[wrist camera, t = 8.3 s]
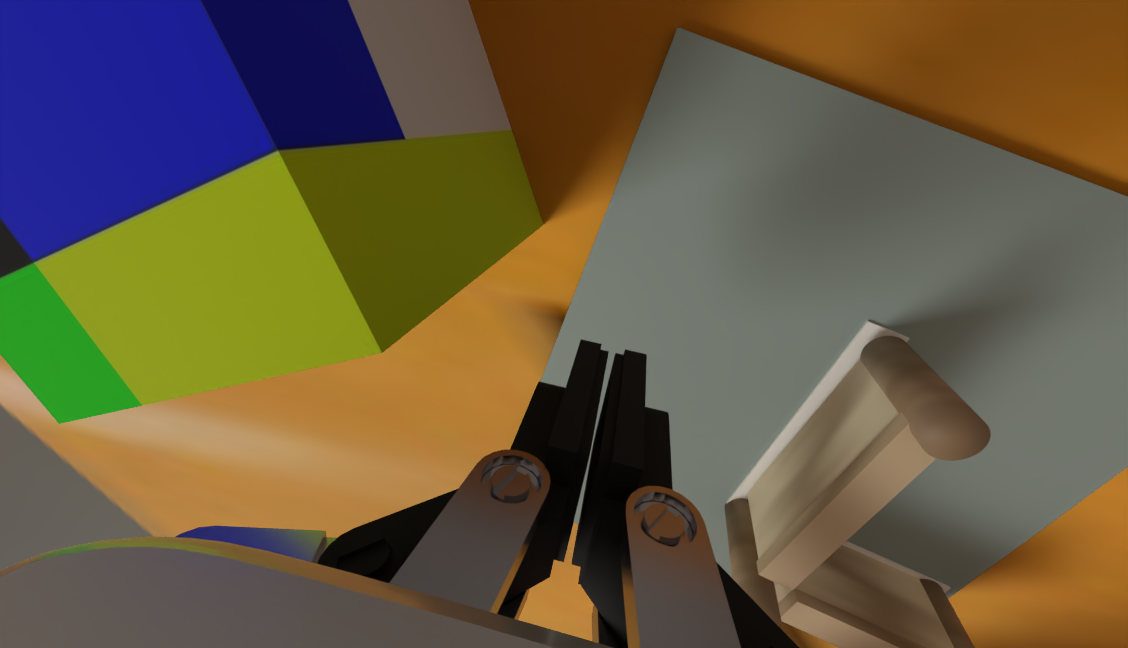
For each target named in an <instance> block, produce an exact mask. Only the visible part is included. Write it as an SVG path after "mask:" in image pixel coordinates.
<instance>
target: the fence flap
mask: <svg viewBox="0 0 1128 648" xmlns="http://www.w3.org/2000/svg"><path fill="white" fill-rule="evenodd" d="M990 437H991V432H990V428H989V426H988V425H987V424H986V423H985V422H984V421H983V420H982V419H981V418H980V417H979V415H978V414H977V413H976V412H975V411H974V410H973V409H972V408H971V407H970V406H969V405H968V404H967V403H966V402H965V401H964V400H963V399H962V398H961V397H960V396H959V395H958V394H957V393H956V392H955V391H954V390H953V389H952V388H951V387H950V386H949V385H948V384H947V383H946V382H945V381H944V380H943V379H942V378H941V377H940V376H939V375H938V374H937V373H936V372H935V371H934V370H933V369H932V368H931V367H930V366H929V365H928V364H927V363H926V362H925V361H924V360H923V359H922V358H921V357H920V356H919V355H918V354H917V353H916V352H915V351H914V350H913V349H912V348H911V347H910V346H909V344H908V343H907V342H905V341H904V340H903V339H901V338H899V337H895V336H883V337H879V338H876V339H874V340H872V341H870V342H869V343H868V344H866V345H865V347H864V348H863V350H862V352H861V355H860V359H859V360H858V362H857V363H856V364H855V365H854V366H853V368H852V369H851V370H850V371H849V372H848V374H847V375H846V376H845V377H844V378H843V379H842V381H841V382H840V383H839V384H838V385H837V387H836V388H835V389H834V390H833V391H832V393H831V394H830V395H829V396H828V397H827V399H826V400H825V401H824V402H823V403H822V405H821V406H820V407H819V408H818V409H817V410H816V412H815V413H814V414H813V415H812V416H811V418H810V419H809V420H808V421H807V422H806V424H805V425H804V426H803V427H802V428H801V430H800V431H799V432H798V433H797V434H796V436H795V437H794V438H793V439H792V440H791V441H790V443H789V444H788V445H787V446H786V447H785V449H784V450H783V451H782V452H781V453H780V455H779V456H778V457H777V458H776V459H775V461H774V462H773V463H772V464H771V465H770V467H769V468H768V469H767V470H766V471H765V472H764V474H763V475H762V476H761V477H760V478H759V480H758V481H757V482H756V483H755V484H754V486H753V487H752V488H751V489H750V490H749V492H748V493H747V495H748V501H749V507H750V513H751V519H752V524H753V530H754V536H755V542H756V548H757V554H758V560H757V561H756V562H757V568H758V574H759V575H760V576H762V577H764V578H767V579H769V580H771V581H773V582H775V583H777V584H779V585H782V586H784V587H786V588H788V589H790V590H793V589H795V588H796V587H797V586H798V585H799V584H800V583H801V582H802V581H803V580H804V579H805V578H807V577H808V576H809V575H810V574H811V573H812V572H813V571H814V570H815V569H816V568H817V567H819V566H820V565H821V564H822V563H823V562H824V561H825V560H826V559H827V558H828V557H829V556H831V555H832V554H833V553H834V552H835V551H836V550H837V549H838V548H839V547H840V546H841V545H843V544H844V543H845V542H846V541H847V540H848V539H849V538H850V537H851V536H852V535H853V534H855V533H856V532H857V531H858V530H859V529H860V528H861V527H862V526H863V525H864V524H865V523H867V522H868V521H869V520H870V519H871V518H872V517H873V516H874V515H875V514H876V513H877V512H879V511H880V510H881V509H882V508H883V507H884V506H885V505H886V504H887V503H888V502H889V501H891V500H892V499H893V498H894V497H895V496H896V495H897V494H898V493H899V492H900V491H901V490H903V489H904V488H905V487H906V486H907V485H908V484H909V483H910V482H911V481H912V480H913V479H915V478H916V477H917V476H918V475H919V474H920V473H921V472H922V471H923V470H924V469H925V468H927V467H928V466H929V465H930V464H931V463H932V462H933V461H934V460H935V459H936V458H937V459H940V460H946V461H956V460H963V459H966V458H969V457H972V456H974V455H976V454H978V453H979V452H981V451H982V450H983V449H984V448H985V447H986V446H987V444H988V443H989V440H990Z"/></svg>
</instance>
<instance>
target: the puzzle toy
mask: <svg viewBox="0 0 1128 648" xmlns="http://www.w3.org/2000/svg"><path fill="white" fill-rule="evenodd" d="M543 225H544V224H543V221H542V218H541V215H540V212H539V209H538V206H537V203H536V201H535V198H534V195H533V192H532V189H531V186H530V183H529V180H528V177H527V174H526V171H525V168H524V165H523V162H522V159H521V156H520V153H519V150H518V147H517V144H516V141H515V138H514V135H513V132H512V129H511V126H510V123H509V120H508V117H507V114H506V111H505V108H504V105H503V102H502V99H501V96H500V93H499V90H498V88H497V85H496V82H495V79H494V76H493V73H492V70H491V67H490V64H489V61H488V58H487V55H486V52H485V49H484V46H483V43H482V40H481V37H480V34H479V31H478V28H477V25H476V22H475V19H474V16H473V13H472V10H471V7H470V4H469V1H468V0H0V354H1V356H2V357H3V358H4V359H5V360H6V362H7V363H8V364H9V365H10V366H11V367H12V369H13V370H14V371H15V372H16V373H17V375H18V376H19V377H20V378H21V379H22V380H23V382H24V383H25V384H26V385H27V386H28V388H29V389H30V390H31V391H32V392H33V393H34V395H35V396H36V397H37V398H38V399H39V401H40V402H41V403H42V404H43V405H44V406H45V408H46V409H47V410H48V411H49V412H50V414H51V415H52V416H53V417H54V418H55V419H56V421H57V422H58V423H59V424H60V423H64V422H69V421H74V420H78V419H83V418H87V417H92V416H96V415H101V414H105V413H110V412H115V411H119V410H124V409H128V408H133V407H137V406H142V405H146V404H151V403H156V402H160V401H165V400H169V399H174V398H178V397H183V396H187V395H192V394H197V393H201V392H206V391H210V390H215V389H219V388H224V387H228V386H233V385H237V384H242V383H247V382H251V381H256V380H260V379H265V378H269V377H274V376H278V375H283V374H288V373H292V372H297V371H301V370H306V369H310V368H315V367H319V366H324V365H329V364H333V363H338V362H342V361H347V360H351V359H356V358H360V357H365V356H370V355H374V354H379V353H382V352H384V351H385V350H386V349H387V348H389V347H390V346H391V345H392V344H394V343H395V342H396V341H397V340H399V339H400V338H401V337H403V336H404V335H405V334H406V333H408V332H409V331H410V330H411V329H413V328H414V327H415V326H416V325H418V324H419V323H420V322H421V321H423V320H424V319H425V318H426V317H428V316H429V315H430V314H432V313H433V312H434V311H435V310H437V309H438V308H439V307H440V306H442V305H443V304H444V303H445V302H447V301H448V300H449V299H450V298H452V297H453V296H454V295H456V294H457V293H458V292H459V291H461V290H462V289H463V288H464V287H466V286H467V285H468V284H469V283H471V282H472V281H473V280H474V279H476V278H477V277H478V276H479V275H481V274H482V273H483V272H485V271H486V270H487V269H488V268H490V267H491V266H492V265H493V264H495V263H496V262H497V261H498V260H500V259H501V258H502V257H503V256H505V255H506V254H507V253H509V252H510V251H511V250H512V249H514V248H515V247H516V246H517V245H519V244H520V243H521V242H522V241H524V240H525V239H526V238H527V237H529V236H530V235H531V234H533V233H534V232H535V231H536V230H538V229H539V228H540V227H541V226H543Z"/></svg>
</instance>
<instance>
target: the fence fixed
mask: <svg viewBox="0 0 1128 648" xmlns="http://www.w3.org/2000/svg"><path fill="white" fill-rule="evenodd" d="M725 517H726V527H727V536H728V545H729V555H730V564H731V573H732V579H733V580H734V581H735V582H736V583H737V584H738V585H739V586H740V587H741V588H742V589H743V590H744V591H745V592H746V593H747V594H748V595H749V596H750V597H751V598H752V599H753V600H754V601H755V602H756V604H757V605H758V606H759V607H760V608H761V609H762V610H763V611H764V612H765V613H766V614H767V615H768V616H769V617H770V618H771V619H772V620H773V621H774V622H775V623H776V624H777V625H778V626H780V625H781V621H783V622H785V623H787V624H789V625H791V626H794V627H796V628H798V629H800V630H802V631H805V632H807V633H809V634H811V635H813V636H815V637H818V638H820V639H822V640H824V641H826V642H829V643H831V644H833V645H835V646H837V647H840V648H975V647H974V646H973V644H972V642H971V640H970V638H969V636H968V635H967V633H966V631H965V629H964V627H963V626H962V624H961V622H960V620H959V618H958V616H957V615H956V613H955V611H954V609H953V607H952V605H951V604H950V602H949V600H948V598H947V596H946V595H945V593H944V591H943V589H942V587H941V586H940V585H939V584H938V583H937V582H935V581H932V580H929V579H918V578H916V577H914V576H912V575H909V574H907V573H905V572H903V571H900V570H898V569H896V568H894V567H891V566H889V565H887V564H884V563H882V562H880V561H878V560H875V559H873V558H871V557H869V556H866V555H864V554H862V553H860V552H857V551H855V550H853V549H850V548H848V547H846V546H844V545H841V546H840V547H839V548H838V549H837V550H836V551H835V552H834V553H833V554H832V555H831V556H829V557H828V558H827V559H826V560H825V561H824V562H823V563H822V564H821V565H820V566H819V567H817V568H816V569H815V570H814V571H813V572H812V573H811V574H810V575H809V576H808V577H807V578H805V579H804V580H803V581H802V582H801V583H800V584H799V585H798V586H797V587H796V588H795V589H793V590H790V589H788V588H786V587H784V586H782V585H779V584H777V583H775V582H773V581H771V580H769V579H767V578H764V577H762V576H760V575H759V574H758V568H757V562H756V561H757V560H758V554H757V548H756V542H755V536H754V530H753V524H752V519H751V513H750V507H749V501H748V499H744V498H738V499H733V500H731V501H729V502H728V503H726V504H725Z"/></svg>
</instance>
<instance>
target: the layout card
mask: <svg viewBox="0 0 1128 648" xmlns="http://www.w3.org/2000/svg"><path fill="white" fill-rule="evenodd" d="M883 336H895V337H899V338H901V339H903V340H904V341H905V342H907V343H908V344H909V346H910V347H911V348H912V349H913V350H914V351H915V352H916V353H917V354H918V355H919V356H920V357H921V358H922V359H923V360H924V361H925V362H926V363H927V364H928V365H929V366H930V367H931V368H932V369H933V370H934V371H935V372H936V373H937V374H938V375H939V376H940V377H941V378H942V379H943V380H944V381H945V382H946V383H947V384H948V385H949V386H950V387H951V388H952V389H953V390H954V391H955V392H956V393H957V394H958V395H959V396H960V397H961V398H962V399H963V400H964V401H965V402H966V403H967V404H968V405H969V406H970V407H971V408H972V409H973V410H974V411H975V412H976V413H977V414H978V415H979V417H980V418H981V419H982V420H983V421H984V422H985V423H986V424H987V425H988V426H989V428H990V432H991V437H990V440H989V443H988V444H987V446H986V447H985V448H984V449H983V450H982V451H981V452H979V453H978V454H976V455H974V456H972V457H969V458H966V459H963V460H956V461H946V460H940V459H937V458H936V459H935V460H934V461H933V462H932V463H931V464H930V465H929V466H928V467H927V468H925V469H924V470H923V471H922V472H921V473H920V474H919V475H918V476H917V477H916V478H915V479H913V480H912V481H911V482H910V483H909V484H908V485H907V486H906V487H905V488H904V489H903V490H901V491H900V492H899V493H898V494H897V495H896V496H895V497H894V498H893V499H892V500H891V501H889V502H888V503H887V504H886V505H885V506H884V507H883V508H882V509H881V510H880V511H879V512H877V513H876V514H875V515H874V516H873V517H872V518H871V519H870V520H869V521H868V522H867V523H865V524H864V525H863V526H862V527H861V528H860V529H859V530H858V531H857V532H856V533H855V534H853V535H852V536H851V537H850V538H849V539H848V540H847V541H846V542H845V543H844V544H843V545H844V546H846V547H848V548H850V549H853V550H855V551H857V552H860V553H862V554H864V555H866V556H869V557H871V558H873V559H875V560H878V561H880V562H882V563H884V564H887V565H889V566H891V567H894V568H896V569H898V570H900V571H903V572H905V573H907V574H909V575H912V576H914V577H916V578H918V579H929V580H932V581H935V582H937V583H938V584H939V585H940V586H941V587H942V589H943V591H944V593H945V595H946V596H947V598H949V597H951V596H952V595H954V594H955V593H956V592H958V591H959V590H960V589H962V588H963V587H964V586H966V585H967V584H968V583H970V582H971V581H973V580H974V579H975V578H977V577H978V576H979V575H981V574H982V573H983V572H985V571H986V570H988V569H989V568H990V567H992V566H993V565H994V564H996V563H997V562H998V561H1000V560H1001V559H1003V558H1004V557H1005V556H1007V555H1008V554H1009V553H1011V552H1012V551H1013V550H1015V549H1016V548H1018V547H1019V546H1020V545H1022V544H1023V543H1024V542H1026V541H1027V540H1028V539H1030V538H1031V537H1033V536H1034V535H1035V534H1037V533H1038V532H1039V531H1041V530H1042V529H1043V528H1045V527H1046V526H1048V525H1049V524H1050V523H1052V522H1053V521H1054V520H1056V519H1057V518H1058V517H1060V516H1061V515H1063V514H1064V513H1065V512H1067V511H1068V510H1069V509H1071V508H1072V507H1073V506H1075V505H1076V504H1078V503H1079V502H1080V501H1082V500H1083V499H1084V498H1086V497H1087V496H1088V495H1090V494H1091V493H1093V492H1094V491H1095V490H1097V489H1098V488H1099V487H1101V486H1102V485H1103V484H1105V483H1106V482H1108V481H1109V480H1110V479H1112V478H1113V477H1114V476H1116V475H1117V474H1118V473H1120V472H1121V471H1123V470H1124V469H1125V468H1127V467H1128V196H1125V195H1122V194H1120V193H1117V192H1115V191H1112V190H1109V189H1107V188H1104V187H1101V186H1099V185H1096V184H1093V183H1091V182H1088V181H1085V180H1083V179H1080V178H1077V177H1075V176H1072V175H1069V174H1067V173H1064V172H1061V171H1059V170H1056V169H1053V168H1051V167H1048V166H1045V165H1043V164H1040V163H1037V162H1035V161H1032V160H1030V159H1027V158H1024V157H1022V156H1019V155H1016V154H1014V153H1011V152H1008V151H1006V150H1003V149H1000V148H998V147H995V146H992V145H990V144H987V143H984V142H982V141H979V140H976V139H974V138H971V137H968V136H966V135H963V134H960V133H958V132H955V131H952V130H950V129H947V128H945V127H942V126H939V125H937V124H934V123H931V122H929V121H926V120H923V119H921V118H918V117H915V116H913V115H910V114H907V113H905V112H902V111H899V110H897V109H894V108H891V107H889V106H886V105H883V104H881V103H878V102H875V101H873V100H870V99H867V98H865V97H862V96H860V95H857V94H854V93H852V92H849V91H846V90H844V89H841V88H838V87H836V86H833V85H830V84H828V83H825V82H822V81H820V80H817V79H814V78H812V77H809V76H806V75H804V74H801V73H798V72H796V71H793V70H790V69H788V68H785V67H782V66H780V65H777V64H775V63H772V62H769V61H767V60H764V59H761V58H759V57H756V56H753V55H751V54H748V53H745V52H743V51H740V50H737V49H735V48H732V47H729V46H727V45H724V44H721V43H719V42H716V41H713V40H711V39H708V38H705V37H703V36H700V35H697V34H695V33H692V32H690V31H687V30H684V29H682V28H679V27H678V28H677V30H676V33H675V36H674V38H673V41H672V43H671V46H670V49H669V51H668V54H667V56H666V59H665V61H664V64H663V67H662V69H661V72H660V74H659V77H658V79H657V82H656V85H655V87H654V90H653V92H652V95H651V98H650V100H649V103H648V105H647V108H646V110H645V113H644V116H643V118H642V121H641V123H640V126H639V129H638V131H637V134H636V136H635V139H634V141H633V144H632V147H631V149H630V152H629V154H628V157H627V160H626V162H625V165H624V167H623V170H622V172H621V175H620V178H619V180H618V183H617V185H616V188H615V190H614V193H613V196H612V198H611V201H610V203H609V206H608V209H607V211H606V214H605V216H604V219H603V221H602V224H601V227H600V229H599V232H598V234H597V237H596V240H595V242H594V245H593V247H592V250H591V252H590V255H589V258H588V260H587V263H586V265H585V268H584V270H583V273H582V276H581V278H580V281H579V283H578V286H577V289H576V291H575V294H574V296H573V299H572V301H571V304H570V307H569V309H568V312H567V314H566V317H565V320H564V322H563V325H562V327H561V330H560V332H559V335H558V338H557V340H556V343H555V345H554V348H553V351H552V353H551V356H550V358H549V361H548V363H547V366H546V369H545V371H544V374H543V376H542V379H541V381H540V382H544V383H548V384H552V385H556V386H561V387H565V388H566V385H567V382H568V379H569V375H570V372H571V369H572V366H573V363H574V359H575V356H576V353H577V350H578V347H579V343H580V340H581V339H582V340H586V341H591V342H595V343H600V344H602V345H601V350H605V351H609V353H608V359H607V364H606V370H605V375H604V381H603V386H602V392H601V397H600V403H599V408H598V413H597V419H596V424H595V430H594V435H593V441H592V446H591V451H590V456H589V461H588V465H587V469H586V473H585V477H584V481H583V485H582V489H581V494H580V498H579V502H578V506H577V510H576V514H575V518H574V522H575V523H577V524H579V519H580V514H581V508H582V502H583V497H584V491H585V486H586V480H587V475H588V469H589V464H590V458H591V452H592V447H593V442H594V438H595V433H596V429H597V425H598V421H599V417H600V413H601V409H602V405H603V401H604V397H605V393H606V389H607V385H608V381H609V377H610V373H611V368H612V364H613V360H614V356H615V353H618V354H622V355H623V354H624V351H625V349H626V350H630V351H635V352H639V353H643V354H647V363H646V398H645V407H649V408H653V409H657V410H661V411H665V412H668V414H669V426H670V446H671V467H672V487H673V490H674V491H676V492H678V493H680V494H682V495H683V496H684V497H685V498H687V499H688V500H689V501H690V502H692V503H693V505H694V506H695V507H696V508H697V509H698V511H699V512H700V514H701V516H702V518H703V520H704V522H705V525H706V529H707V532H708V536H709V539H710V543H711V546H712V549H713V553H714V556H715V560H716V562H717V563H718V564H719V565H720V566H721V567H722V568H723V569H724V570H725V571H726V572H727V573H728V574H729V575H730V576H731V578H732V573H731V564H730V555H729V545H728V536H727V527H726V517H725V504H726V503H728V502H729V501H731V500H733V499H738V498H744V499H748V495H747V493H748V492H749V490H750V489H751V488H752V487H753V486H754V484H755V483H756V482H757V481H758V480H759V478H760V477H761V476H762V475H763V474H764V472H765V471H766V470H767V469H768V468H769V467H770V465H771V464H772V463H773V462H774V461H775V459H776V458H777V457H778V456H779V455H780V453H781V452H782V451H783V450H784V449H785V447H786V446H787V445H788V444H789V443H790V441H791V440H792V439H793V438H794V437H795V436H796V434H797V433H798V432H799V431H800V430H801V428H802V427H803V426H804V425H805V424H806V422H807V421H808V420H809V419H810V418H811V416H812V415H813V414H814V413H815V412H816V410H817V409H818V408H819V407H820V406H821V405H822V403H823V402H824V401H825V400H826V399H827V397H828V396H829V395H830V394H831V393H832V391H833V390H834V389H835V388H836V387H837V385H838V384H839V383H840V382H841V381H842V379H843V378H844V377H845V376H846V375H847V374H848V372H849V371H850V370H851V369H852V368H853V366H854V365H855V364H856V363H857V362H858V360H859V359H860V355H861V352H862V350H863V348H864V347H865V345H866V344H868V343H869V342H870V341H872V340H874V339H876V338H879V337H883Z"/></svg>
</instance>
